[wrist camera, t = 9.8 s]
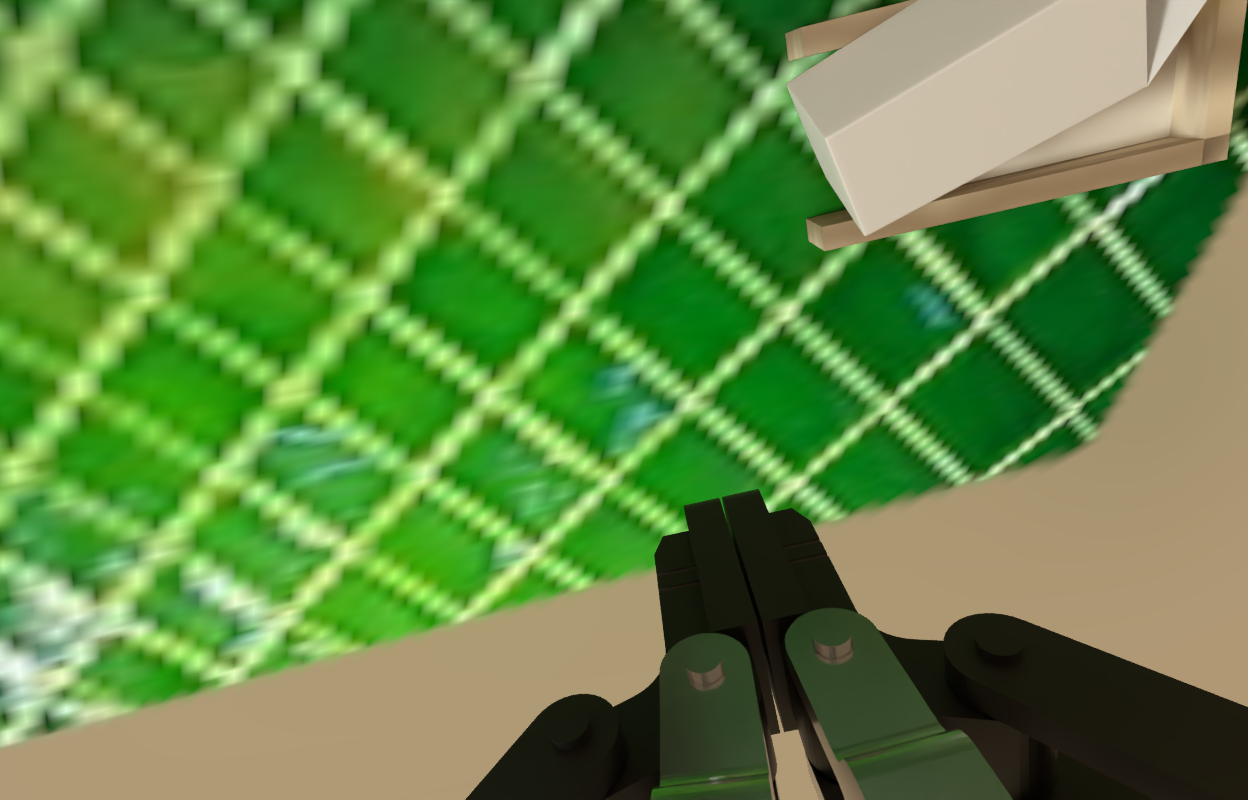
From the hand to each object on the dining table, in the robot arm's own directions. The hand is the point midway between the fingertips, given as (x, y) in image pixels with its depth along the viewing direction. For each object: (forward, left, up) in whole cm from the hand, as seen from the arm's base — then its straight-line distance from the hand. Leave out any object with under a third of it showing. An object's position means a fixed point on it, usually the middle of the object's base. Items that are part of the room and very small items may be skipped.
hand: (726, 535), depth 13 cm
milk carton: (-2, +11, -30) cm, 32 cm away
